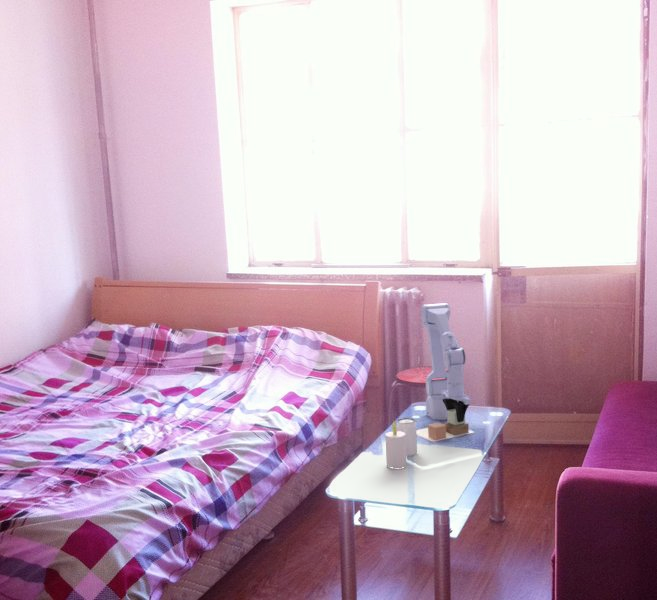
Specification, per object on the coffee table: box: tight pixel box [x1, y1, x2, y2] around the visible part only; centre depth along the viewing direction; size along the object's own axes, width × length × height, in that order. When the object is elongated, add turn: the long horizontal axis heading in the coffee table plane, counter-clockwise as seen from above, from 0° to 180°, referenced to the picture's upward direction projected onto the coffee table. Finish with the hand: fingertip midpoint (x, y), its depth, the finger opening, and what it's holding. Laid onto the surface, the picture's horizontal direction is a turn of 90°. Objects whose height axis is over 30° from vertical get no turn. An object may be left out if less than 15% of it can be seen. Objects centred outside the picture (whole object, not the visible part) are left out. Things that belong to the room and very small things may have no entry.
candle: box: [384, 420, 407, 468], centre depth 244 cm, size 6×6×15 cm
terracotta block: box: [427, 422, 446, 441], centre depth 268 cm, size 4×4×4 cm
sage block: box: [446, 409, 466, 425], centre depth 272 cm, size 4×4×4 cm
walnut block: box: [444, 421, 470, 435], centre depth 273 cm, size 6×6×3 cm
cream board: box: [416, 423, 475, 443], centre depth 274 cm, size 14×18×1 cm
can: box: [396, 417, 418, 457], centre depth 253 cm, size 6×6×12 cm
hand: (456, 419), depth 272 cm, fingers closed on sage block, 4 cm apart
